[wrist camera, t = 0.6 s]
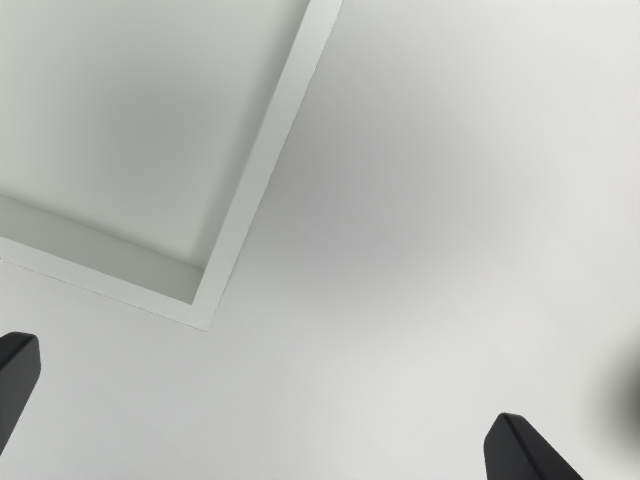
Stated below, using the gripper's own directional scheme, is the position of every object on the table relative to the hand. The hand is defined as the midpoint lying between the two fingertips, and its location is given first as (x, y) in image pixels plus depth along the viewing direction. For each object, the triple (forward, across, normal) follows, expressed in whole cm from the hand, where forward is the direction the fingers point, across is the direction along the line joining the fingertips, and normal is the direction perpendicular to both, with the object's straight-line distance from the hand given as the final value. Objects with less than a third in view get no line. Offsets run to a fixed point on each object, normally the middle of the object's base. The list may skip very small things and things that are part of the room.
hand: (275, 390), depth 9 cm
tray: (+15, +9, -2) cm, 17 cm away
